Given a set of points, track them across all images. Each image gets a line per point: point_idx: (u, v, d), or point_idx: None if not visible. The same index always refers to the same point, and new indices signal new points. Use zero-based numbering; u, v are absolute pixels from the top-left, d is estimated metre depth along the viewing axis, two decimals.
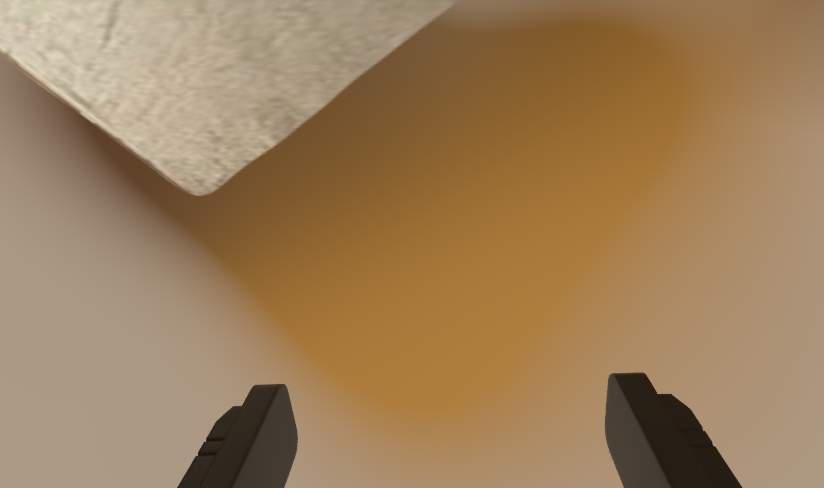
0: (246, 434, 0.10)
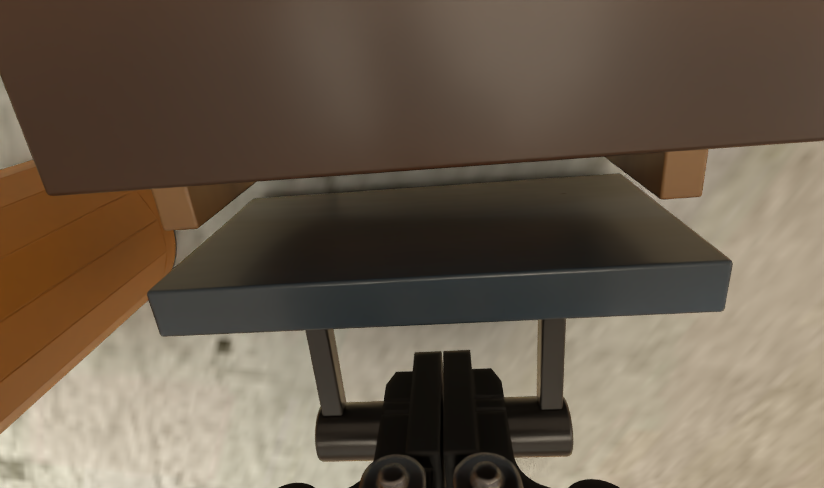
0: (430, 393, 0.11)
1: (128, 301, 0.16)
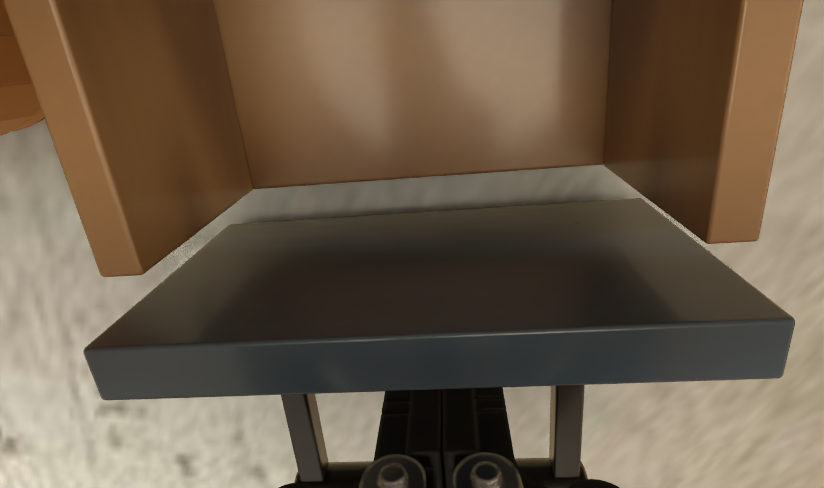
0: (430, 393, 0.11)
1: None
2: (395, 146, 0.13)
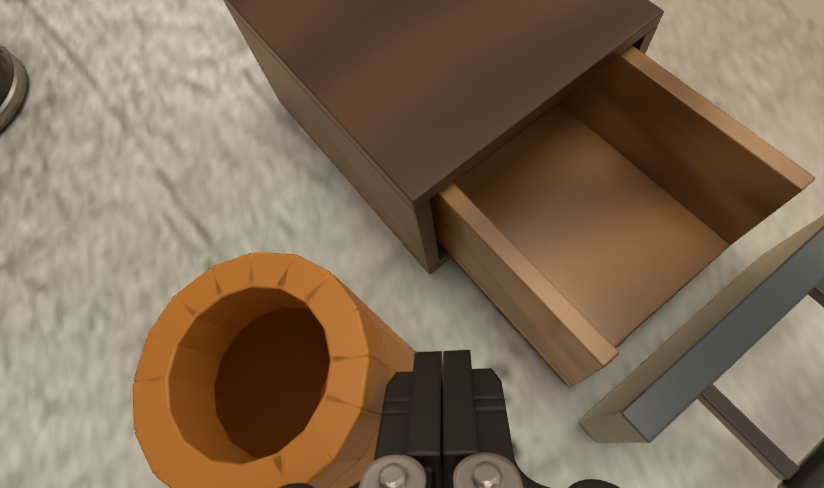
0: (430, 393, 0.11)
1: None
2: (635, 302, 0.23)
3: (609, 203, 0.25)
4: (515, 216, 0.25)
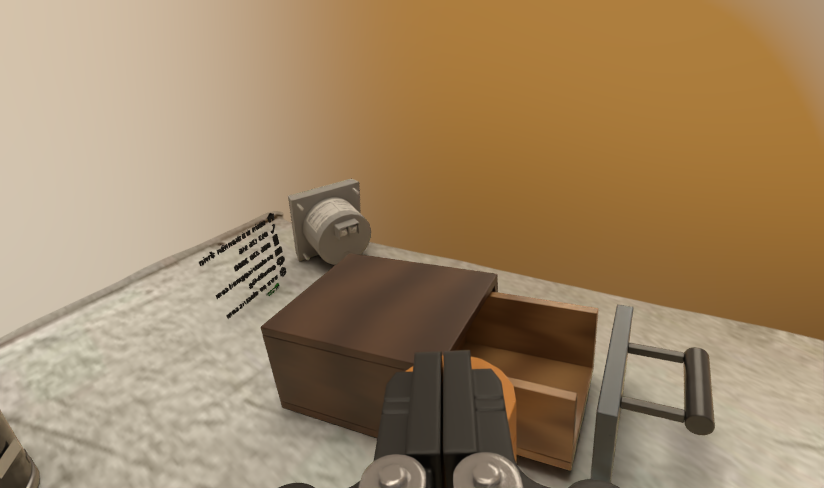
0: (430, 393, 0.11)
1: None
2: None
3: (524, 373, 0.41)
4: None
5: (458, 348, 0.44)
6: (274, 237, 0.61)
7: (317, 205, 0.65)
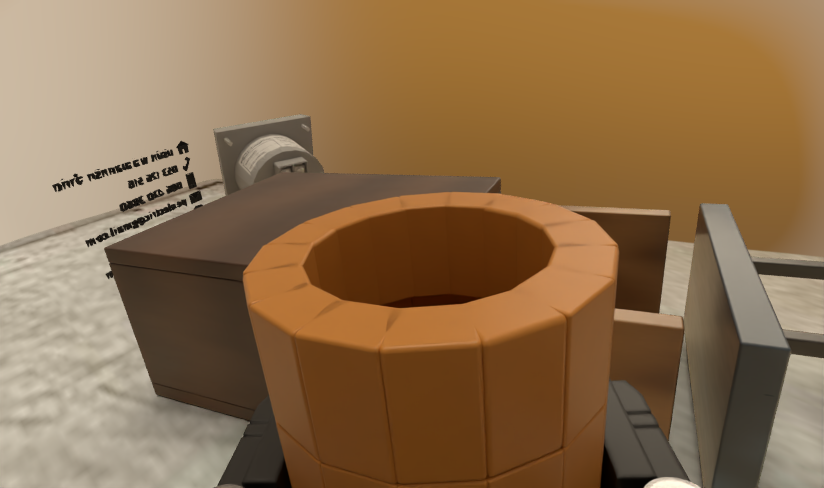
0: None
1: None
2: None
3: None
4: None
5: None
6: (188, 176, 0.44)
7: (253, 142, 0.49)
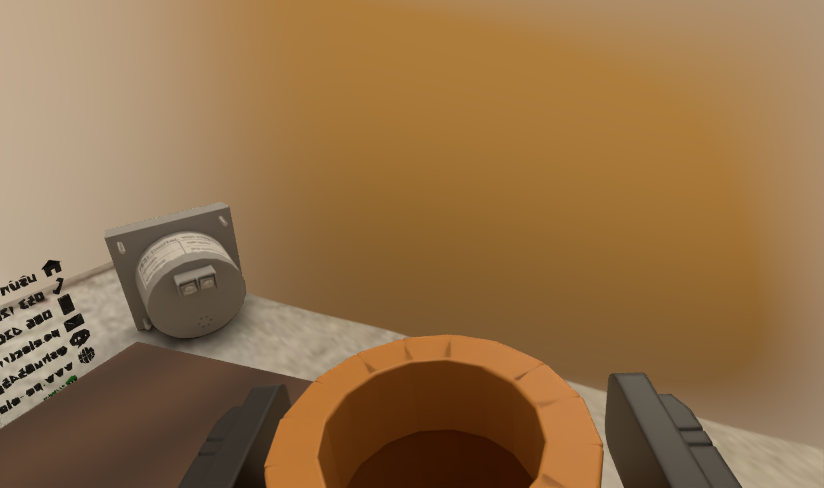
0: (246, 434, 0.10)
1: None
2: None
3: None
4: None
5: None
6: (62, 299, 0.36)
7: (155, 244, 0.41)
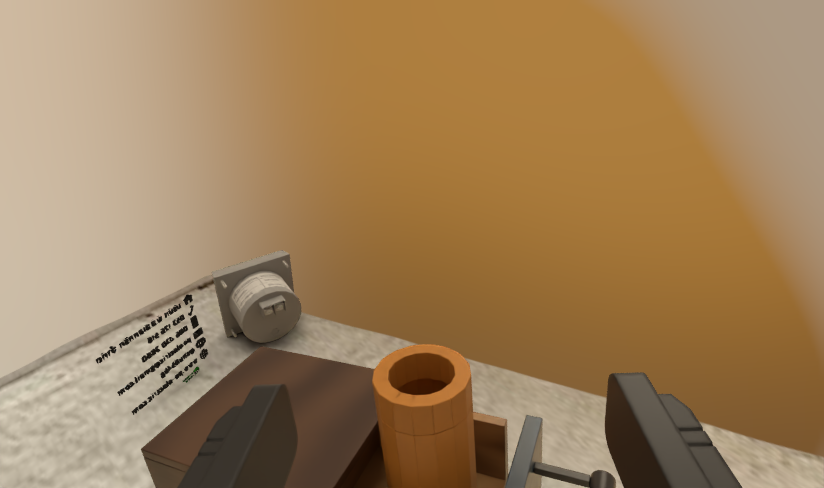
0: (246, 434, 0.10)
1: None
2: None
3: None
4: None
5: (367, 457, 0.41)
6: (192, 319, 0.57)
7: (243, 281, 0.62)
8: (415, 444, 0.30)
